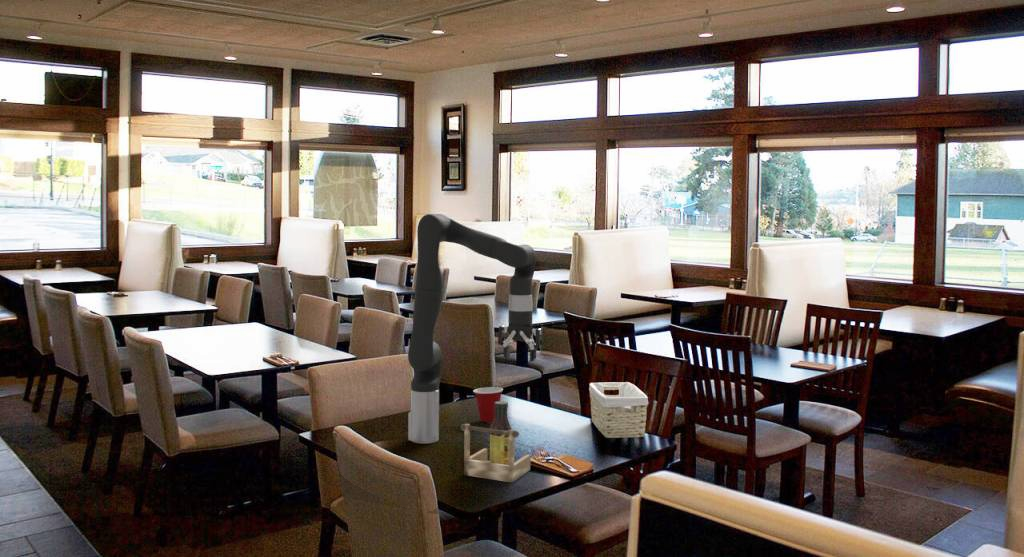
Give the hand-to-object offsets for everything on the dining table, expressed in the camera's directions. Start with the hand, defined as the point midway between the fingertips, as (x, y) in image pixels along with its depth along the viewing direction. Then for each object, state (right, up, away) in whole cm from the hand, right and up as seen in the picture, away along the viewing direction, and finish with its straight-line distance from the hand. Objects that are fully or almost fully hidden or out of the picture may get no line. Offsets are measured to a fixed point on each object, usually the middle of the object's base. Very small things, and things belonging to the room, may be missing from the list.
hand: (519, 360), depth 273 cm
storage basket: (+34, -28, +33) cm, 55 cm away
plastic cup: (-11, -26, +42) cm, 51 cm away
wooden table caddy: (-7, -32, -16) cm, 36 cm away
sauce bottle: (-6, -31, -15) cm, 35 cm away
